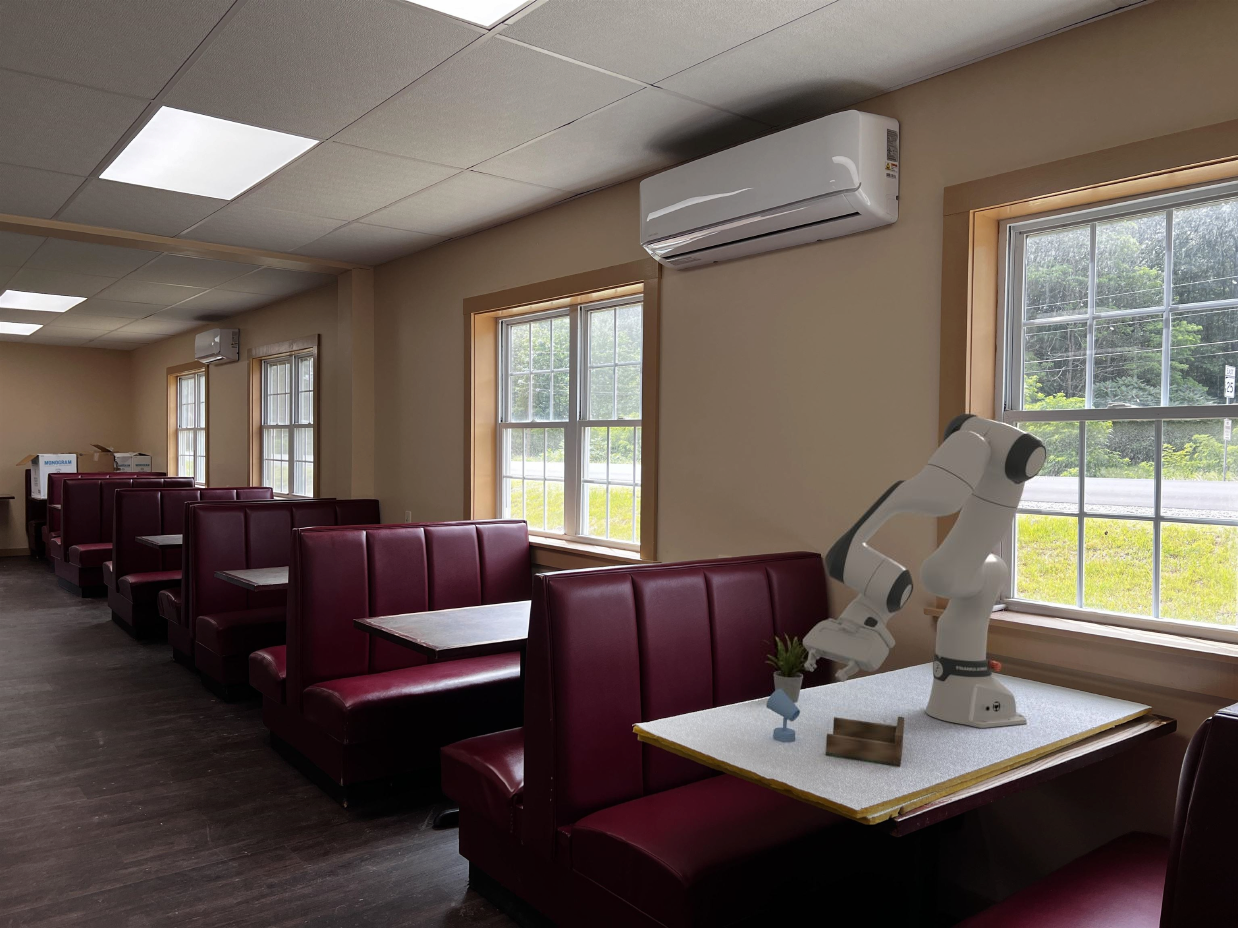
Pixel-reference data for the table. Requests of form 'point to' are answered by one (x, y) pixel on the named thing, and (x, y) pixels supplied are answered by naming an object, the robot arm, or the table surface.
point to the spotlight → (783, 714)
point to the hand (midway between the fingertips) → (823, 673)
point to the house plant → (789, 669)
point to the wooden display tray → (866, 741)
